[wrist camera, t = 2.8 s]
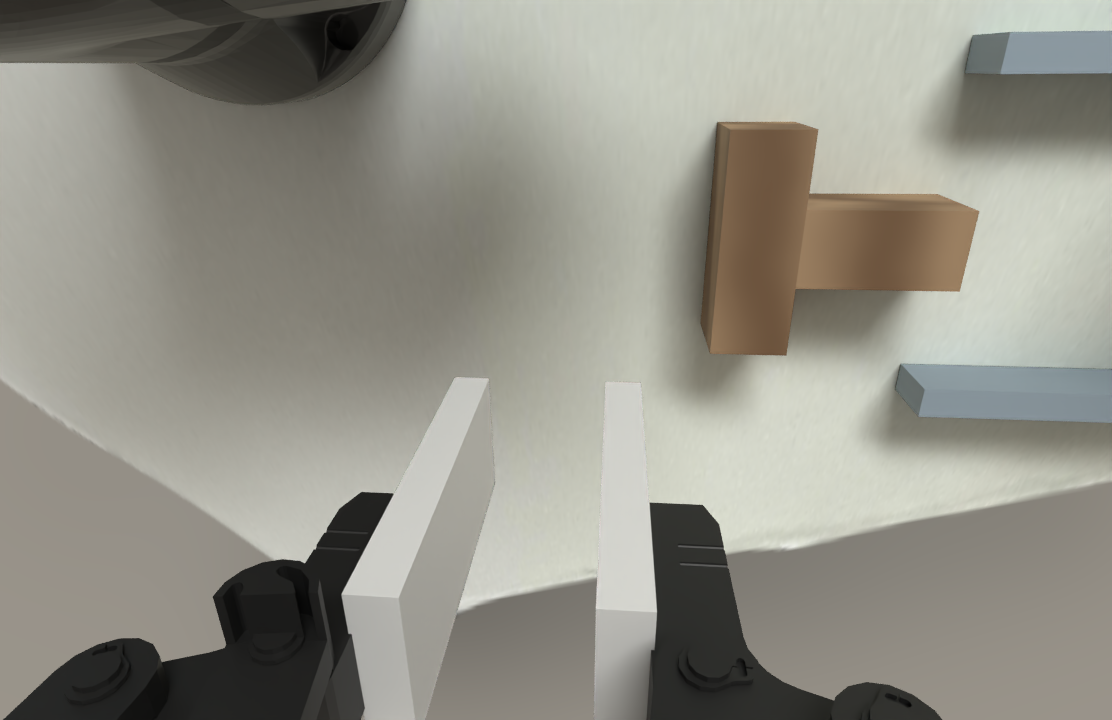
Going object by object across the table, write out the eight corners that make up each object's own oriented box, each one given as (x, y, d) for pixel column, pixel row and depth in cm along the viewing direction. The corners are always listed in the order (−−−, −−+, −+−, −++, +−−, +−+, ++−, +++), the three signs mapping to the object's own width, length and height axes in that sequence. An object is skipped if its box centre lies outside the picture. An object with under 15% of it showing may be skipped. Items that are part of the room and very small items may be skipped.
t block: (700, 323, 35) (709, 353, 31) (717, 122, 31) (730, 129, 27) (908, 328, 34) (942, 359, 31) (953, 121, 30) (999, 129, 27)
